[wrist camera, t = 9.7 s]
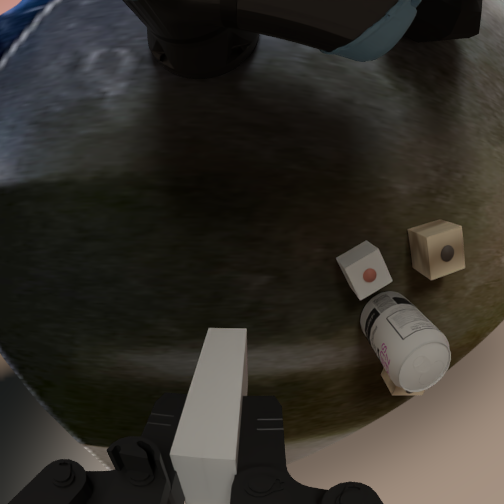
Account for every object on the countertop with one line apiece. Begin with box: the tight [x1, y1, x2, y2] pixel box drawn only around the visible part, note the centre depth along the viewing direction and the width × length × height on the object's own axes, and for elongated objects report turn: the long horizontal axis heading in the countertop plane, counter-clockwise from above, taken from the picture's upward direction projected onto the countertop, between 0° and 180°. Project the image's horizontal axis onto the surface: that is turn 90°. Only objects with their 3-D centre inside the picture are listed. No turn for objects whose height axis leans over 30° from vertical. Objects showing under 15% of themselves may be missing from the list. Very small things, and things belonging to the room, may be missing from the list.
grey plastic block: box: [336, 240, 392, 300], centre depth 40 cm, size 5×5×5 cm
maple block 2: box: [407, 219, 465, 280], centre depth 39 cm, size 6×6×6 cm
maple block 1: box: [381, 368, 425, 395], centre depth 44 cm, size 6×6×6 cm
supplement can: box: [360, 291, 451, 392], centre depth 37 cm, size 8×8×15 cm
